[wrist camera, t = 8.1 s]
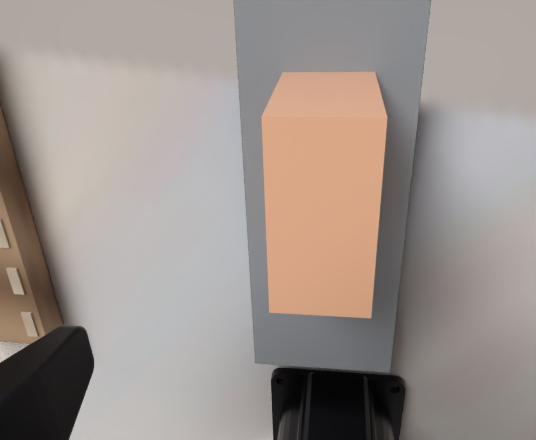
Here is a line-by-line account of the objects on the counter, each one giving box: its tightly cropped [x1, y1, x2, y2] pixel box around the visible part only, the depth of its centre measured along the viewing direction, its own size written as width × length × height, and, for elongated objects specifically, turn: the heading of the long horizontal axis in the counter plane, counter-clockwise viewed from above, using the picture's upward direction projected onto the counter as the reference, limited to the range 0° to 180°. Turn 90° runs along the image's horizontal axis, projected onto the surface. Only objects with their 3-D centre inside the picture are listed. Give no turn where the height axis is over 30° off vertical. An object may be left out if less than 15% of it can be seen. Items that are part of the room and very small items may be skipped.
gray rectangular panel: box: [234, 0, 431, 373], centre depth 16 cm, size 20×6×6 cm, turn 2°
